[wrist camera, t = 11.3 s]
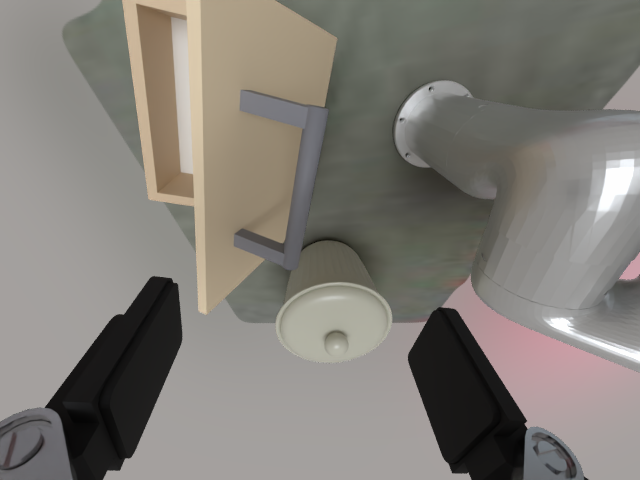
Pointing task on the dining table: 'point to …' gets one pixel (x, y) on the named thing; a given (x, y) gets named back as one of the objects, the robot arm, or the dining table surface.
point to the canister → (332, 306)
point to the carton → (162, 95)
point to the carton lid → (253, 135)
